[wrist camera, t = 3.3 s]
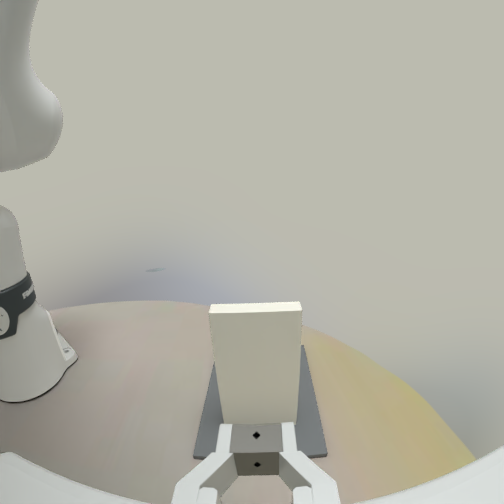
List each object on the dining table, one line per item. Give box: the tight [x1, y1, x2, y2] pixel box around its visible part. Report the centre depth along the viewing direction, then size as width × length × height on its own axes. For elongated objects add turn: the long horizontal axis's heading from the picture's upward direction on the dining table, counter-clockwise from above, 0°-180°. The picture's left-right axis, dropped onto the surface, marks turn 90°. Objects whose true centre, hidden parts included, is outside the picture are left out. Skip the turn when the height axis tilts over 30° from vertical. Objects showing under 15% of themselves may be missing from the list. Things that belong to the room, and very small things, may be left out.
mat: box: [193, 345, 327, 459], centre depth 30 cm, size 19×12×1 cm, turn 179°
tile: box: [208, 302, 302, 425], centre depth 24 cm, size 2×7×13 cm, turn 88°
